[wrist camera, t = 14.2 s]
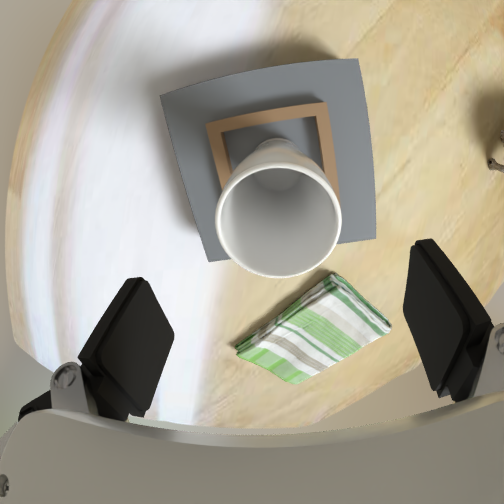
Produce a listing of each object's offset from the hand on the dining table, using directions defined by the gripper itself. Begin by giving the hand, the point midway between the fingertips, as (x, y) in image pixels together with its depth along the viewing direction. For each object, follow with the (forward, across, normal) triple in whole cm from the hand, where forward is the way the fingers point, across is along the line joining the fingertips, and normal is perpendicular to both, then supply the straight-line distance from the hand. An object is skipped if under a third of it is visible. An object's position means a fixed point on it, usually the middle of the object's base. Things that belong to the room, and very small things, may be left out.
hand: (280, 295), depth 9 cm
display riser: (+26, 0, +1) cm, 26 cm away
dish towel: (+26, -1, +31) cm, 41 cm away
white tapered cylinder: (+21, 0, 0) cm, 21 cm away
